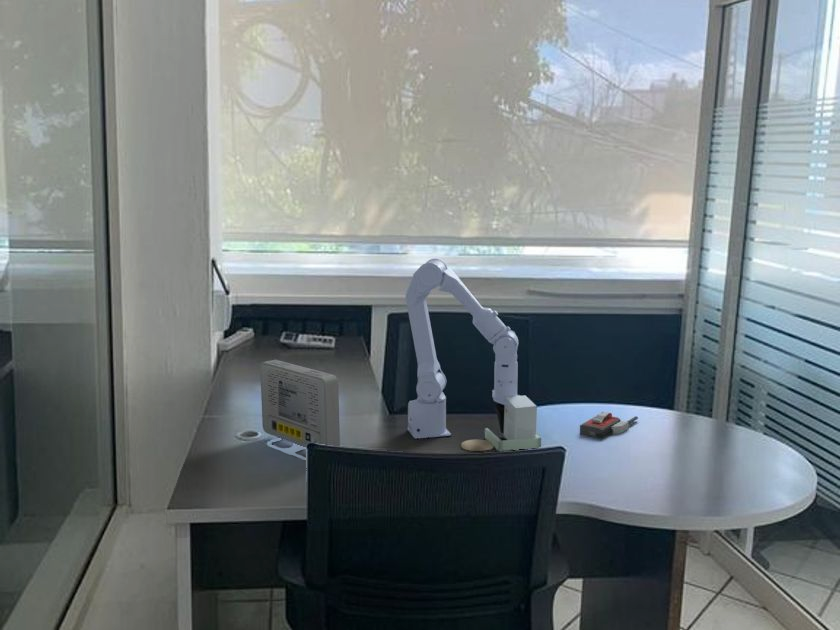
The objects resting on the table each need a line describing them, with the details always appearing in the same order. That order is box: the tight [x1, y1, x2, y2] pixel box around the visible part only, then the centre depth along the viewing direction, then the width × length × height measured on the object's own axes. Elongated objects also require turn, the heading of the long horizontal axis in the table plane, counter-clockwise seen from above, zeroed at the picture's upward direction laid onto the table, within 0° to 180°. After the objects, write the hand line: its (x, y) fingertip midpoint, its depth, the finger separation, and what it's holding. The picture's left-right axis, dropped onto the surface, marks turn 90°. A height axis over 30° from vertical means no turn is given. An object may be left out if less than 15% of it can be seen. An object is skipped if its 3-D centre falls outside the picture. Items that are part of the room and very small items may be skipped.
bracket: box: [484, 427, 542, 452], centre depth 212 cm, size 11×11×2 cm
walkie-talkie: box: [579, 411, 639, 439], centre depth 223 cm, size 9×4×20 cm
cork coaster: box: [460, 439, 495, 452], centre depth 210 cm, size 8×8×1 cm
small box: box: [503, 395, 538, 440], centre depth 211 cm, size 8×6×10 cm
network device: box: [259, 359, 341, 447], centre depth 208 cm, size 26×9×20 cm, turn 45°
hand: (505, 432), depth 217 cm, fingers closed
